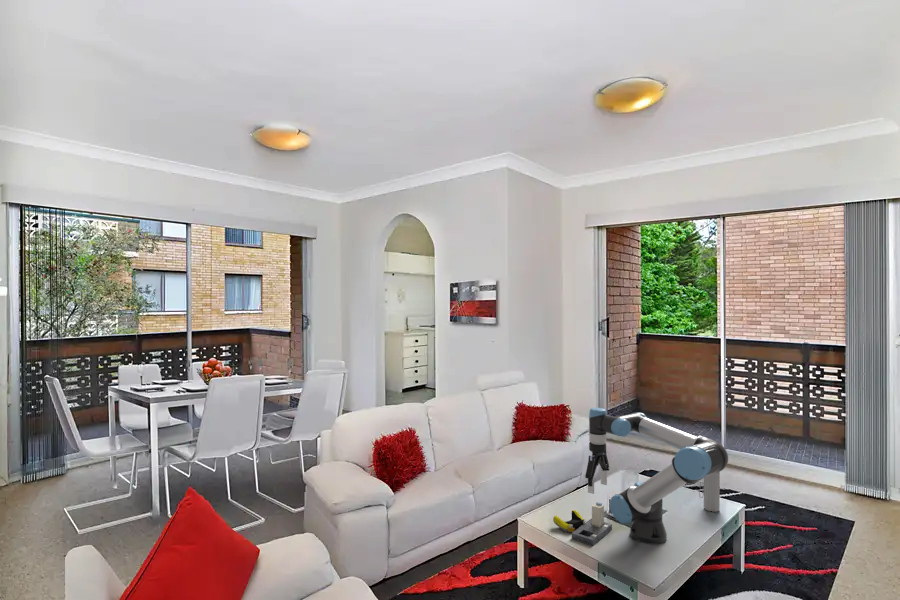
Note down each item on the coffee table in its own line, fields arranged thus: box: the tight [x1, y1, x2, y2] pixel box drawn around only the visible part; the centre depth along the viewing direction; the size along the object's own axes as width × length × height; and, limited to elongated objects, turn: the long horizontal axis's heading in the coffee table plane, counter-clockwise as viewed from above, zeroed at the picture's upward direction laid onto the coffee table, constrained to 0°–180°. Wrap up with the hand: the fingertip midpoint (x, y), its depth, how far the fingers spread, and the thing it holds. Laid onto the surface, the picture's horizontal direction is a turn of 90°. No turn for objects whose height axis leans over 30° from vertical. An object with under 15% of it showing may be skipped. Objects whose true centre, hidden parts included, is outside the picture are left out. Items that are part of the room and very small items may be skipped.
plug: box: [591, 502, 605, 527], centre depth 239 cm, size 4×4×12 cm
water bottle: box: [698, 471, 721, 513], centre depth 261 cm, size 9×8×25 cm
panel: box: [571, 517, 613, 547], centre depth 235 cm, size 10×20×3 cm, turn 140°
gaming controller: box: [552, 509, 587, 533], centre depth 242 cm, size 15×6×10 cm
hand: (597, 488), depth 239 cm, fingers open, 13 cm apart
